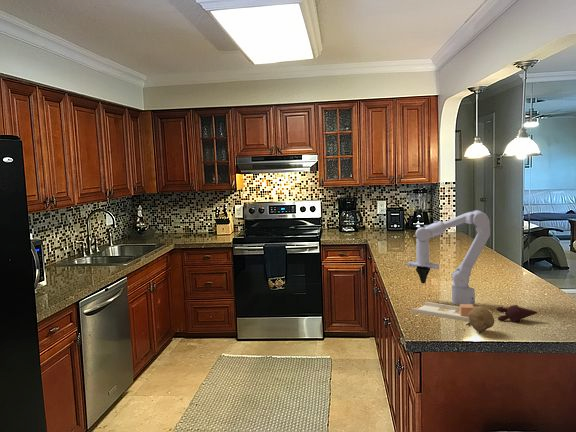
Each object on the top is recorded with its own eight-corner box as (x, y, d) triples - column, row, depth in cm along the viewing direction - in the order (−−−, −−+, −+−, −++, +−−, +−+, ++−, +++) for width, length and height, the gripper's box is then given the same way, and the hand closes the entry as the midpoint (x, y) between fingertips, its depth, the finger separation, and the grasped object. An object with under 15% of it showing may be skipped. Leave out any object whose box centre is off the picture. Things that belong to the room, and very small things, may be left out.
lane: (483, 317, 201) (483, 309, 201) (472, 325, 191) (471, 317, 191) (425, 307, 218) (424, 300, 218) (411, 315, 208) (411, 307, 208)
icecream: (534, 303, 196) (495, 305, 200) (537, 303, 189) (496, 305, 194) (537, 320, 195) (497, 322, 199) (540, 321, 188) (499, 323, 192)
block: (472, 314, 200) (472, 304, 200) (474, 318, 195) (474, 307, 195) (459, 314, 202) (459, 304, 201) (461, 318, 197) (461, 307, 196)
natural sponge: (488, 327, 188) (487, 302, 187) (498, 335, 180) (498, 309, 179) (465, 329, 188) (464, 304, 187) (474, 336, 179) (474, 310, 178)
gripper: (441, 253, 219) (442, 283, 220) (412, 251, 228) (412, 279, 229) (435, 256, 213) (435, 286, 215) (405, 253, 223) (405, 282, 224)
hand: (423, 282), depth 222 cm, fingers closed
